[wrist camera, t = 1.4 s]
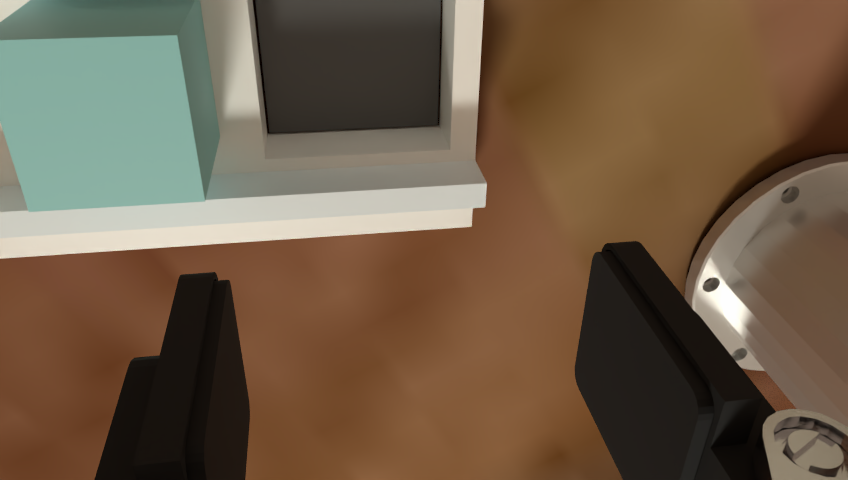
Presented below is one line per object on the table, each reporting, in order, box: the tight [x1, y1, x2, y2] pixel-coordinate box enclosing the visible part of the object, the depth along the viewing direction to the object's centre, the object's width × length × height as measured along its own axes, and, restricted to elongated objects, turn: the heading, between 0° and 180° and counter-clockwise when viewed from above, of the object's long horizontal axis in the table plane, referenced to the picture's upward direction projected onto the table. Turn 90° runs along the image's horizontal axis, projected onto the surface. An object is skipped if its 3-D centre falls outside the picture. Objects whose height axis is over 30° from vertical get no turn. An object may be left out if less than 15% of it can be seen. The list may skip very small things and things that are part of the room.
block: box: [0, 0, 220, 212], centre depth 22 cm, size 5×5×5 cm
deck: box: [0, 0, 487, 258], centre depth 24 cm, size 28×14×4 cm, turn 89°
